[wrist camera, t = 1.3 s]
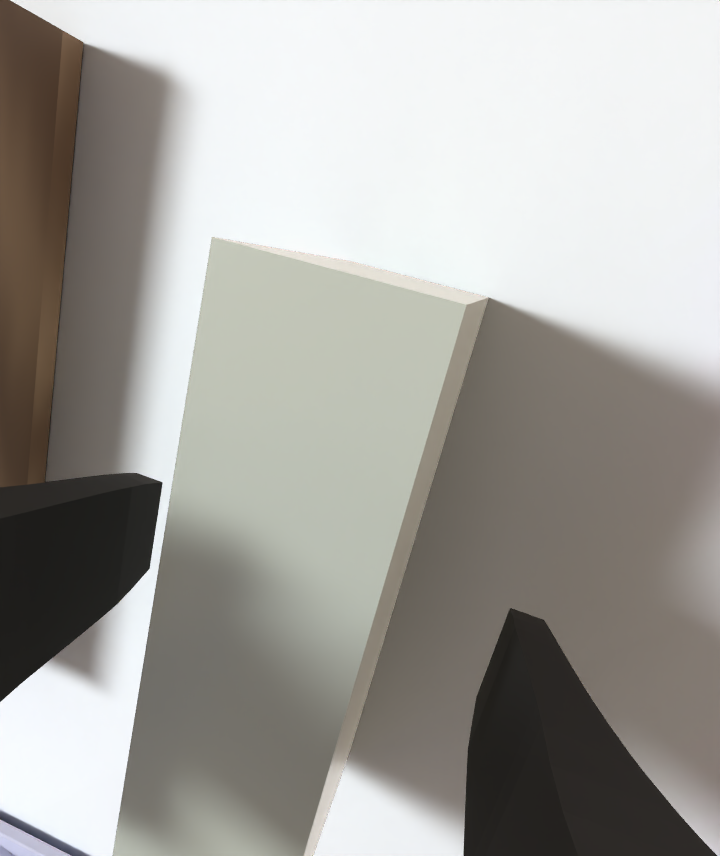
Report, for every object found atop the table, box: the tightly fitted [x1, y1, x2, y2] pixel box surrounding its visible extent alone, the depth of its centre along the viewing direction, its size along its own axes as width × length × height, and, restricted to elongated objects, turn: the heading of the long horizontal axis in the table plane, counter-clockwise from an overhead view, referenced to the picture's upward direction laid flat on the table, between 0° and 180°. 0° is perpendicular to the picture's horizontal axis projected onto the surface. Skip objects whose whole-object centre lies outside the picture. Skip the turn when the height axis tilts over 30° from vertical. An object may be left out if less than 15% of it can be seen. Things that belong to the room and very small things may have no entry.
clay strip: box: [113, 237, 489, 856], centre depth 11 cm, size 12×3×6 cm, turn 166°
